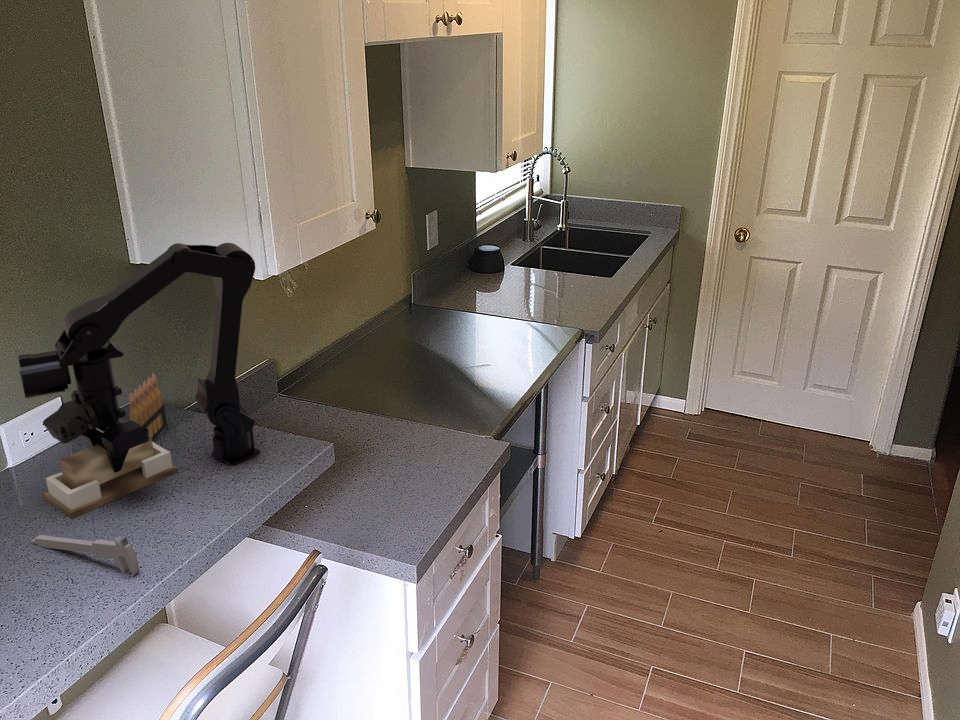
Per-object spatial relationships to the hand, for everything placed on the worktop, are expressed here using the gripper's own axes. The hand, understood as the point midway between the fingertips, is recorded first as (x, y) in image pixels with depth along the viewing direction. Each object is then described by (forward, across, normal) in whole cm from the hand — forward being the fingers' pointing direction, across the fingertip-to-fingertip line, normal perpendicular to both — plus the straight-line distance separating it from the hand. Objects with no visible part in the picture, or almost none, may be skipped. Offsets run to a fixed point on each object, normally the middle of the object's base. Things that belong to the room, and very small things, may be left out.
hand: (110, 467), depth 134 cm
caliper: (+4, +16, -13) cm, 21 cm away
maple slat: (+1, 0, 0) cm, 1 cm away
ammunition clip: (+4, -10, +13) cm, 17 cm away
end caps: (+4, 0, 0) cm, 4 cm away
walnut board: (+4, 0, 0) cm, 4 cm away
